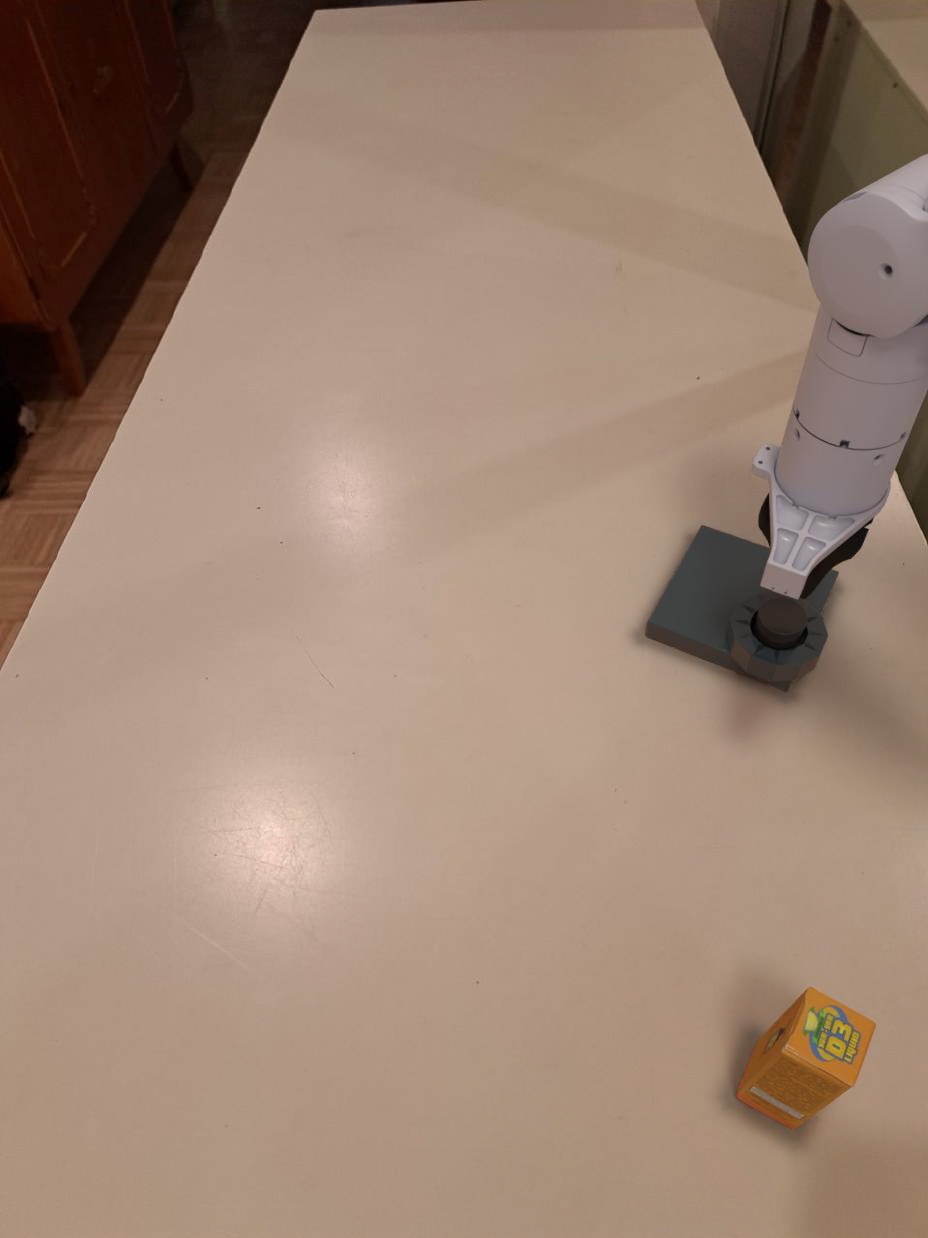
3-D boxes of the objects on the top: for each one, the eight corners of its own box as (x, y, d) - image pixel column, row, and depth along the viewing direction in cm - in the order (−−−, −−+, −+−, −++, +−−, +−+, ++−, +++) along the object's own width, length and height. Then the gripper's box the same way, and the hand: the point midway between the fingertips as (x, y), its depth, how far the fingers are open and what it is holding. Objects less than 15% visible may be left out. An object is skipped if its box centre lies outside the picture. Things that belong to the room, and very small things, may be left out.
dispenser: (846, 591, 67) (860, 558, 64) (797, 709, 61) (810, 679, 59) (698, 539, 71) (705, 506, 68) (639, 646, 65) (644, 615, 62)
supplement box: (799, 1138, 47) (854, 1094, 39) (733, 1098, 48) (772, 1047, 40) (823, 1075, 48) (879, 1020, 40) (757, 1037, 50) (800, 978, 42)
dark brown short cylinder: (807, 623, 62) (814, 606, 60) (793, 657, 60) (799, 640, 59) (762, 606, 63) (767, 590, 61) (747, 639, 61) (752, 623, 60)
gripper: (816, 310, 52) (768, 488, 63) (722, 478, 45) (685, 647, 56) (951, 344, 50) (876, 523, 60) (875, 528, 42) (805, 695, 53)
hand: (792, 586), depth 58 cm, fingers closed
